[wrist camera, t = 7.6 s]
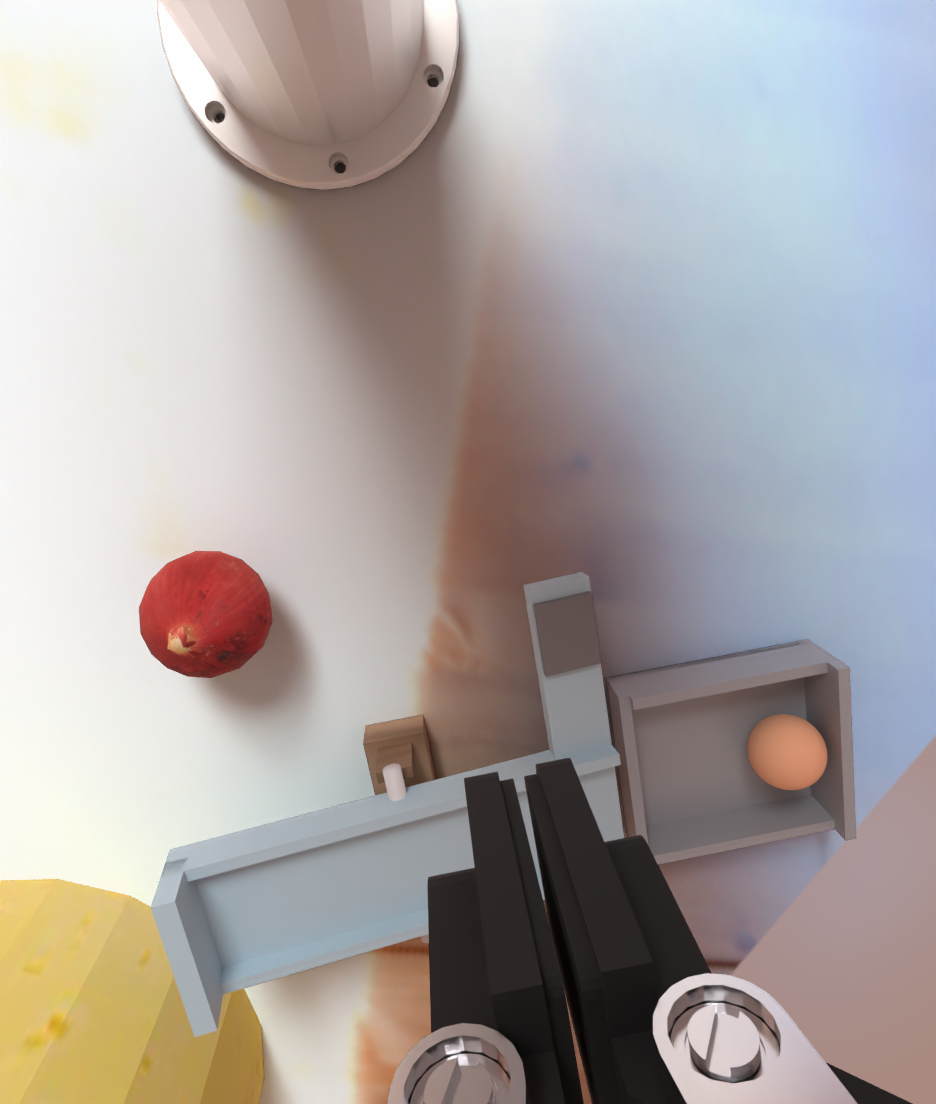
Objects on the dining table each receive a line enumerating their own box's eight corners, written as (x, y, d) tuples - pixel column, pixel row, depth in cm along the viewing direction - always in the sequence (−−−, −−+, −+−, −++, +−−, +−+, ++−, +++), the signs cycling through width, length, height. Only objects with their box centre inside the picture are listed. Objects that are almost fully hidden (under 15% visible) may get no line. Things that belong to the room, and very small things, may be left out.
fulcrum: (365, 725, 40) (360, 768, 36) (422, 714, 40) (424, 756, 36) (400, 877, 42) (399, 934, 38) (454, 866, 42) (458, 922, 38)
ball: (792, 747, 36) (842, 717, 38) (729, 719, 40) (777, 693, 41) (796, 815, 37) (845, 784, 39) (734, 782, 41) (782, 755, 42)
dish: (606, 677, 40) (626, 710, 36) (807, 639, 41) (849, 667, 37) (626, 833, 43) (648, 879, 39) (816, 796, 43) (856, 838, 39)
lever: (114, 678, 32) (85, 717, 28) (581, 571, 35) (613, 594, 31) (215, 992, 36) (203, 1063, 33) (622, 872, 40) (655, 924, 36)
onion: (307, 590, 38) (279, 647, 30) (232, 664, 38) (187, 738, 31) (221, 513, 36) (170, 552, 29) (145, 590, 37) (75, 648, 29)
